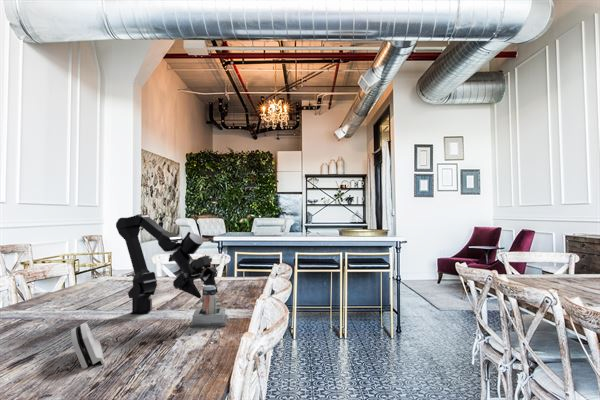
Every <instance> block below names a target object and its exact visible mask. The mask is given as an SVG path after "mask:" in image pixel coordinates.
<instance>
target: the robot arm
mask: <svg viewBox="0 0 600 400" xmlns="http://www.w3.org/2000/svg"><path fill="white" fill-rule="evenodd" d="M115 228H116V230H117V232H118V234H119V236H120V237H122V238H123V240H124V241H125V244H126V247H127V251H128V255H129V258H130V262H131V265H132V269H133V272H134V276H133V278H132V287H131V288H130V289H129V290H128V292H127V297H128V298H129V299H132V300H131V307H132V308H131V310H132V311H131V312H130V315H136V314H137V315H139V314H141V315H143V314H144V315H145V314H148V313H150V312H151V311H152V310H153V299H152V297H151V296H154V295H155V292H156V288H157V287H158V283H157V282H158V279H157V277H156V273H155V272H154V271H150V270H149V269H148V266H147V262H146V259H145V256H144V253H143V249H142V245H141V242H140V239H139V234H140V231H141V228H142V229H144V230H145V231H146V232H147V233H148V234H150V235H151V236H152V237H154V238H155V239H156V241H157V244H158V246H159V247H160V248H161V250H162V251H164V252H166V253H167V252H173V253H172V254H171V253H170V254H169V256H168V262H170V263H171V262H175V264H176V265H177V267H178V268H179V269H178V272H179V274H178V275H177V276H176V278H175V279H174V280H173V282H172V286H173V287H174V289H175V290H179V291H183V292H185V293H188V294H189V295H192V296H193V297H195V298H197V299H201V298H202V295H201V293H200V291H199V289H198V288H197V285H196V284H195V281H196V280H200V281H201V282H203V285H204V286H205V285H214V286H215V287H216V294H217V293H219V291H218V287H217V283H216V278H215V276H216V275H217V272H218V269H217V268H216V267H215V266H210V267H206V266H208V265H211V264H212V262H213V257H211V255H209V254H205V255H202V256H200V257H198V258H193V257H192V256H191V255H194V254H195V253H196V252H197V251H198V250H199V248H201V246H202V245H203V243H204V240H203V237H202V236H200V234H197V233H195V232H194V231H187V234H186V235H185V236H184V238H182V236H179V234H175V233H173V232H170V231H167V230H166V229H165V228H164V227H162V226H161V225H160V224H158V223H157V222H156V221H155V220H153V219H152V218H151V217H150V215H148V214H143V213H142V214H136V215H134V216H129V217H119V218H118V219H117V221H116V223H115ZM205 267H206V268H205Z"/></svg>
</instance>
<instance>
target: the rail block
mask: <svg viewBox="0 0 600 400" xmlns="http://www.w3.org/2000/svg"><path fill="white" fill-rule="evenodd" d="M227 320H228V314H226V306H221V307H220V306H219V307H217V306H216V313H214V314H202V307H196V309H195V310H194V312H193V314H192V321H191V323H190V325H189V329H200V328H201V329H202V328H203V329H204V328H221V327H224V328H225V327H227V323H228V321H227Z"/></svg>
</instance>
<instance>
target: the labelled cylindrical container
mask: <svg viewBox="0 0 600 400" xmlns="http://www.w3.org/2000/svg"><path fill="white" fill-rule="evenodd" d="M216 287H217V286H216ZM216 287H215V286H214V285H204V286H203V287H202V292H201V293H202V295H201V298H202V299H201V300H202V301H201V302H202V303H201V305H202V307H201V308H202V314H214V313H216V307H217V293H216Z"/></svg>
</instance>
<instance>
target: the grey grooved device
mask: <svg viewBox="0 0 600 400" xmlns="http://www.w3.org/2000/svg"><path fill="white" fill-rule="evenodd" d="M70 336H71V337H70V338H71V344H72V346H73V347H72V348H73V349H74V351H75V354H76V356H77V358H78V362H79V363H80V366H81V368H82V369H87V368H88V366H90V364H91V365H95V364H96V363H98V362H100V363H101V365H102V366H105V359H104V354H103V346H102V344H101V342H100V340H97V339H95V338H94V336H93V334H92V331H91V329H90V327H89V325H88V323H87V322H84V323H81V324H80V325H79V326H75V327H73V328H72V329H71V331H70Z"/></svg>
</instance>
